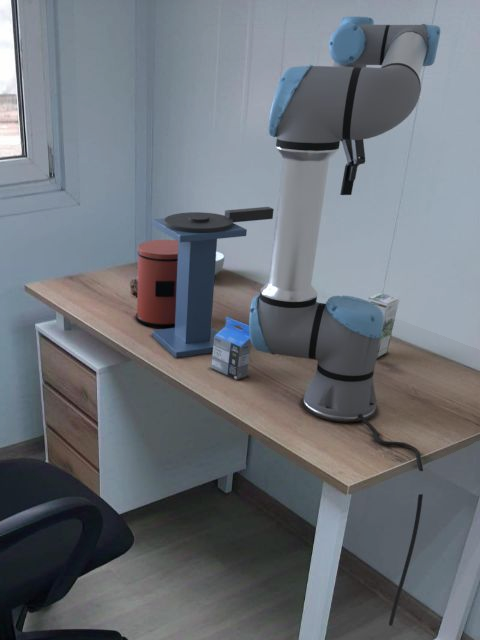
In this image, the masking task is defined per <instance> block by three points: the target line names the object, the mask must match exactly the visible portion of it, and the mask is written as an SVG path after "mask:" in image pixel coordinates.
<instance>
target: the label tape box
mask: <svg viewBox="0 0 480 640" xmlns="http://www.w3.org/2000/svg"><path fill="white" fill-rule="evenodd" d="M237 326H238V327H239V328H237ZM217 332H218V333H217V334H216V335H215V336H214V346H213V353H212V356H211V367H210V368H211V369H212V370H215V371H216V372H219V373H220V374H223V375H226V376H228V377H230V378H233V379H234V380H241V379H244V378H247V377H248V371H249V364H250V354H251V346H252V343H251V340H250V333H249V324H246V323H243V322H241V321H238V320H236V319H234V318H232V317H231V318H230V317H228V316H225V326H224V327H223V328H222V329H220V330H219V331H217Z"/></svg>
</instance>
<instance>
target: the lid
mask: <svg viewBox="0 0 480 640" xmlns="http://www.w3.org/2000/svg"><path fill="white" fill-rule="evenodd" d="M274 209H275V208H273V207H271V206H261V207H250V208H237V209H227V210H224V215H223V214H219V213H213V212H200V211H198V212H197V211H195V212H194V211H193V212H192V211H191V212H179V213H173V214H171V215H168V216H166V217H165V219H164V225H165V226H166V227H168V228H170V229H173V230H177V231H183V232H192V233H210V232H219V231H224V230H228V229H230V228H231V227H232V226H233V223H243V222H255V221H262V220H263V221H264V220H265V221H266V220H273V219H274Z"/></svg>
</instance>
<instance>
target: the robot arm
mask: <svg viewBox="0 0 480 640" xmlns="http://www.w3.org/2000/svg"><path fill="white" fill-rule="evenodd" d="M440 35H441V27H440V26H439V25H435V24H427V23H422V24H375V21H374V19H373V17H367V16H344V17H343V18H341V19H340V22H339V26H338V27H337V28H336V29H335V30H334V31H333V33H332V34H331V36H330V38H329V42H328V52H329V54H330V57H331V59H332V61H333V64H332V65H333V66H325V65H324V66H323V65H312V64H310V65H301V66H291V67H288V68H287V69H286V70H285V71H284V72H283V73H282V74H281V77H280V78H279V80H278V84H277V86H276V89H275V92H274V96H273V100H272V103H271V108H270V112H269V117H268V124H269V125H268V134H269V136H271V137H273V138H276V140H275V149H276V151H277V152H278V153H279V154H280V155H281V158H282V160H281V171H280V180H279V189H278V198H277V207H276V215H275V224H274V234H273V243H272V252H271V260H270V268H269V277H268V281H267V283H266V284H264V285H263V286H262V287H260V292H259V294H258V295H255V296H254V297H253V298H252V300H251V303H250V308H249V309H250V310H249V316H248V326H249V333H250V340H251V346H252V347H253V348H254V349H255V351H258V352H261V353H266V354H270V355H274V356H277V355H278V356H285V357H293V358H300V359H308V360H315V361H317V365H316V371H315V372H314V375H313V377H312V379H311V380H310V382H309V384H308V386H307V389H306V390H305V392H304V395H303V399H302V405H303V407H304V409H305V410H306V411H307V412H308V413H310V414H311V415H312V416H315V417H317V418H320V419H322V420H325V421H330V422H336V423H345V424H346V423H349V424H350V423H358V422H363V423H364V424H365V425H366V427H368V429H369V430H371V432H372V433H373V437H374V440H375V442H377V443H378V444H380V445H383V446H384V445H385V446H393V447H403V448H407V449H409V450H410V451H412V452H414V454H415V457H416V464H417V469H418V471H419V472H424V468H423V464H422V463H423V462H422V457H421V453H420V451H419V449H418V448H416V447H415V446H413V445H411V444H409V443H406V442H403V441H387V440H383V439H381V438H379V433H378V430H377V429H376V428H375V427H374V426H373V425H372V423H370V421H368V420H369V419H371V418H372V417H373V416H374V415H375V413H376V409H377V396H376V390H375V384H374V372H375V368H376V364H377V359H378V358H377V353H378V347H379V342H380V337H381V336H382V334H383V331H382V327H383V320H384V316H383V313H382V311H381V310H380V309H379V308H378V307H377V306H376V305H374V304H372V303H370V302H368V301H367V299H363V298H359V297H355V296H350V295H333V296H331V297H329V298H328V299H327V300H326V302H325V303H324V302H323V303H322V302H318V301H317V299H318V292H317V290H316V289H315V287H314V286H313V285H312V281H313V275H314V268H315V260H316V255H317V247H318V239H319V232H320V226H321V219H322V211H323V205H324V198H325V190H326V183H327V176H328V171H329V162H330V159H331V158H332V157H333V156H334V155H335V154H337V152H338V151H340V145H341V144H342V148H343V151H344V154H345V158H346V161H347V163H346V164H345V166H344V171H343V176H342V183H341V188H340V193H339V195H340V196H351V195H352V193H353V188H354V184H355V180H356V179H357V178H356V177H357V171H358V168H359V166H360V165H365V163H366V151H365V143H364V140H369V139H372V138H375V137H378V136H380V135H383V134H385V133H387V132H389V131H391V130H393V129H394V128H396V127H397V126H399V125H400V124H402V123H403V122H404V121H405V120H406V119H407V118H408V117H409V116H410V115H411V114H412V112H413V111H414V109H415V108H416V107H417V104H418V103H419V99H420V95H421V91H422V85H421V84H422V83H421V78H420V76H421V72H422V69H423V67H430V66H433V64H434V63H435V60H436V58H437V57H436V56H437V52H438V47H439V41H440ZM370 66H371V67H370ZM372 66H380V67H372ZM376 358H377V359H376ZM417 497H418V498H417V504H416V511H415V518H414V519H415V520H414V523H413V524H414V525H413V529H412V535H411V538H410V543H409V547H408V551H407V556H406V559H405V563H404V566H403V569H402V573H401V577H400V581H399V584H398V587H397V591H396V594H395V598H394V602H393V605H392V610H391V613H390V617H389V620H388V621H389V622H388V626H393V624H394V622H395V621H394V620H395V617H396V612H397V609H398V605H399V601H400V598H401V594H402V590H403V587H404V585H405V581H406V577H407V573H408V569H409V567H410V563H411V559H412V555H413V553H414V552H413V551H414V548H415V544H416V540H417V535H418V530H419V526H420V525H419V524H420V520H421V513H422V505H423V497H424V494H423V493H419V494H418V495H417Z"/></svg>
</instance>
